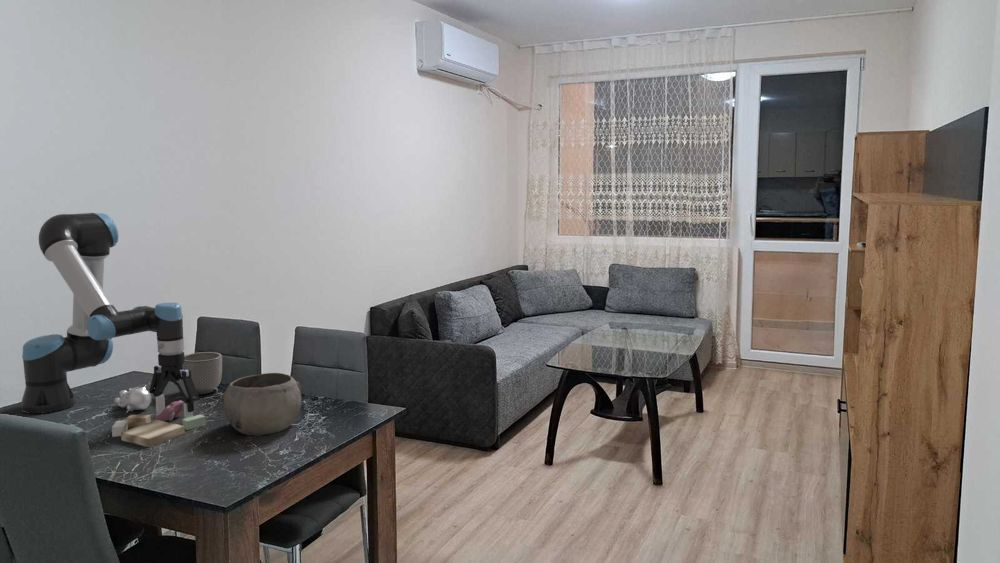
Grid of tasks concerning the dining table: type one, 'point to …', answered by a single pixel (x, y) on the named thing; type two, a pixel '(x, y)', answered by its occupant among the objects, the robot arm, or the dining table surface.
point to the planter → (204, 370)
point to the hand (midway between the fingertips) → (175, 418)
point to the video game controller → (171, 411)
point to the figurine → (134, 399)
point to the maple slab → (152, 433)
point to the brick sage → (194, 422)
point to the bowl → (262, 403)
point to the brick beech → (138, 420)
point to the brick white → (119, 427)
